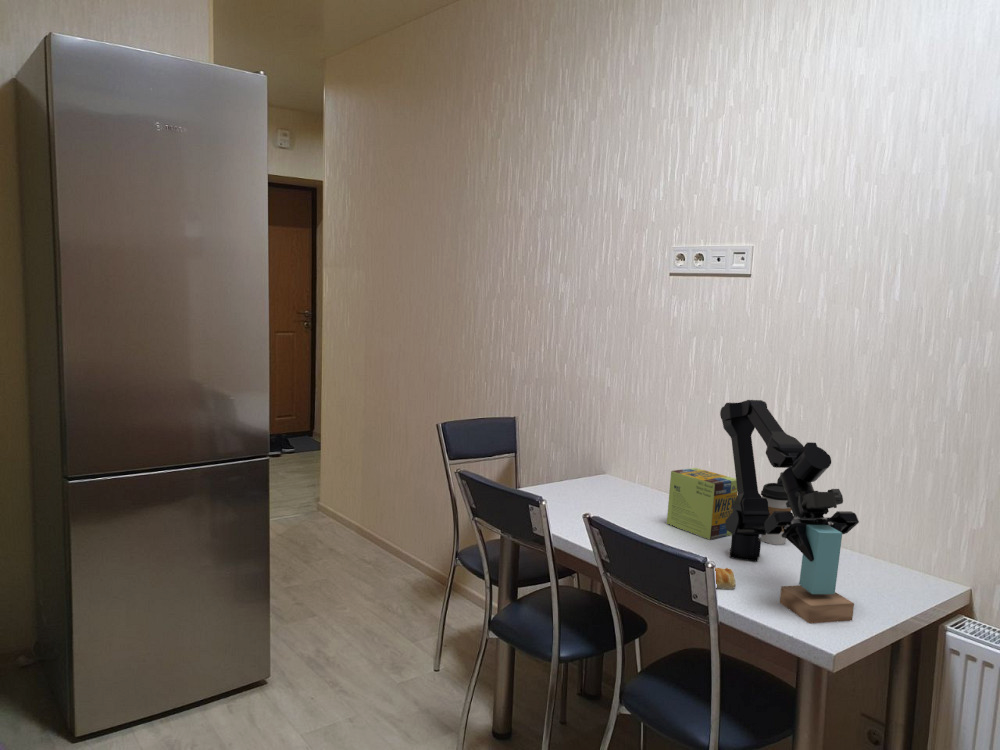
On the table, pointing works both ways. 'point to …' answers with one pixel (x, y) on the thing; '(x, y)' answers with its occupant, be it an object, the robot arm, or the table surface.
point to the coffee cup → (775, 508)
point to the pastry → (725, 578)
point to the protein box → (701, 502)
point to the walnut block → (816, 605)
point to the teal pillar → (821, 560)
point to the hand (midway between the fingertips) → (824, 560)
